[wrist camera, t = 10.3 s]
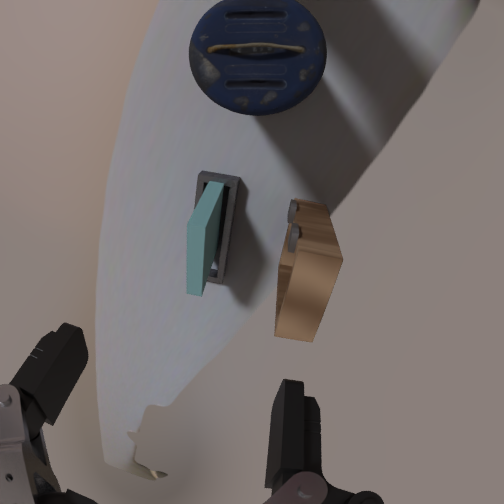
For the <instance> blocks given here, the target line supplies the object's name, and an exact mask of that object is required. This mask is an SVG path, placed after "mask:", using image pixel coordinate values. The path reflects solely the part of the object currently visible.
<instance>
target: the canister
mask: <svg viewBox="0 0 504 504" xmlns="http://www.w3.org/2000/svg"><path fill="white" fill-rule="evenodd" d="M326 58H327V49H326V41H325V38H324V34H323V32H322V29H321V27H320V25H319V24H318V22H317V20H316V19H315V18H314V16H313V15H312V14H311V13H310V12H309V11H308V10H307V9H306V8H305V7H304V6H302V5H301V4H300V3H298V2H297V1H295V0H223V1H221V2H219V3H217V4H216V5H214V6H213V7H212V8H211V9H210V10H208V11H207V12H206V13H205V14H204V15H203V17H202V18H201V19H200V21H199V22H198V24H197V26H196V28H195V30H194V32H193V34H192V37H191V41H190V46H189V61H190V67H191V71H192V74H193V76H194V78H195V80H196V82H197V84H198V86H199V87H200V88H201V90H202V91H203V92H204V93H205V94H206V95H207V96H208V97H209V98H210V99H211V100H212V101H214V102H215V103H217V104H218V105H220V106H222V107H224V108H226V109H228V110H230V111H233V112H236V113H240V114H245V115H255V116H261V115H270V114H275V113H279V112H282V111H285V110H287V109H290V108H292V107H293V106H295V105H297V104H298V103H300V102H301V101H303V100H304V99H305V98H306V97H307V96H308V95H309V94H310V93H311V92H312V91H313V90H314V89H315V87H316V86H317V84H318V83H319V81H320V79H321V77H322V75H323V73H324V69H325V65H326Z"/></svg>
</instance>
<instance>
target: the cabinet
mask: <svg viewBox="0 0 504 504" xmlns="http://www.w3.org/2000/svg"><path fill="white" fill-rule="evenodd" d="M288 223H289V225H288V229H287V233H286V237H285V242H284V246H283V250H282V254H281V258H280V262H279V266H278V284H277V301H276V319H275V334H274V336H276V337H281V338H288V339H294V340H300V341H306V342H313V339H314V337H315V334H316V332H317V329H318V327H319V324H320V322H321V319H322V317H323V314H324V311H325V309H326V306H327V303H328V301H329V298H330V295H331V293H332V290H333V287H334V284H335V282H336V279H337V276H338V273H339V270H340V267H341V265H342V262H343V257H342V254H341V251H340V247H339V244H338V241H337V238H336V235H335V232H334V228H333V225H332V222H331V219H330V216H329V213H328V210H327V207H326V205H324V204H320V203H315V202H310V201H306V200H301V199H296V198H295V199H294V200H292V199H291V202H290V207H289V211H288Z"/></svg>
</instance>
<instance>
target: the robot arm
mask: <svg viewBox="0 0 504 504" xmlns="http://www.w3.org/2000/svg"><path fill="white" fill-rule="evenodd" d="M87 361H88V350H87V346H86V342H85V339H84V334H83V331H82V329H81V328H80V327H76V326H74V325H71V324H68V323H63V324H62V325H61V326H60V327H59V329H58V330H57V331H56V332H53V331H51V332H50V333H48V334H47V335H45V336H44V337H43V338H41V340H40V341H39V343H38V344H37V345H36V346H35V349H33V351H32V352H31V353H30V356H28V358H27V359H26V361H25V362H24V363H23V365H22V366H21V368H20V369H19V371H18V372H17V373H16V375H15V377H14V378H13V379H12V381H11V382H10V383H9V384H2V385H0V504H97V503H96V502H95V501H94V500H92V499H89V498H87V497H85V496H82V495H80V494H78V493H75V492H74V491H71V490H69V489H67V491H66V493H65V492H61V489H60V485H59V483H58V480H57V478H56V476H55V475H54V473H53V471H52V468H51V465H50V461H49V457H48V453H47V449H46V444H45V440H44V435H43V430H42V426H43V424H44V422H46V423H48V424H50V425H52V426H53V425H54V423H55V421H56V419H57V417H58V416H59V413H60V412H61V410H62V408H63V406H64V404H65V402H66V401H67V399H68V397H69V395H70V393H71V391H72V390H73V388H74V386H75V384H76V382H77V380H78V379H79V377H80V375H81V373H82V372H83V370H84V368H85V366H86V364H87ZM320 422H321V420H320V408H319V406H318V404H317V402H316V400H315V398H314V397H307V396H304V383H303V382H302V381H295V380H288V379H283V381H282V383H281V385H280V388H279V391H278V392H277V395H276V397H275V400H274V403H273V407H272V412H271V423H270V436H269V447H268V457H267V469H266V479H265V488H271V489H272V495H271V497H270V498H269V499H268V500H267V501H266V502H265V503H263V504H384V502H383V500H382V499H381V497H380V496H379V495H377V494H376V493H374V492H371V491H362V492H359V493H357V494H354V493H351V492H348V491H345V490H341V489H338V488H336V487H334V486H332V485H331V484H329V483H328V482H327V481H326V479H325V478H324V476H323V473H322V467H321V434H320V432H321V424H320Z"/></svg>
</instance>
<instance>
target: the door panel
mask: <svg viewBox="0 0 504 504" xmlns="http://www.w3.org/2000/svg"><path fill="white" fill-rule="evenodd" d="M223 190H224V183H219V182H213V181H209V183H208V185H207V186H206V188H205V190H204V192H203V194H202V196H201V198H200V200H199V202H198V204H197V206H196V208H195V210H194V212H193V214H192V216H191V218H190V220H189V222H188V224H187V294H192V295H196V296H201V297H202V294H203V291H204V288H205V285H206V281H207V278H208V275H209V272H210V269H211V266H212V263H213V260H214V257H215V254H216V251H217V248H218V238H219V228H220V218H221V209H222V199H223Z"/></svg>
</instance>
